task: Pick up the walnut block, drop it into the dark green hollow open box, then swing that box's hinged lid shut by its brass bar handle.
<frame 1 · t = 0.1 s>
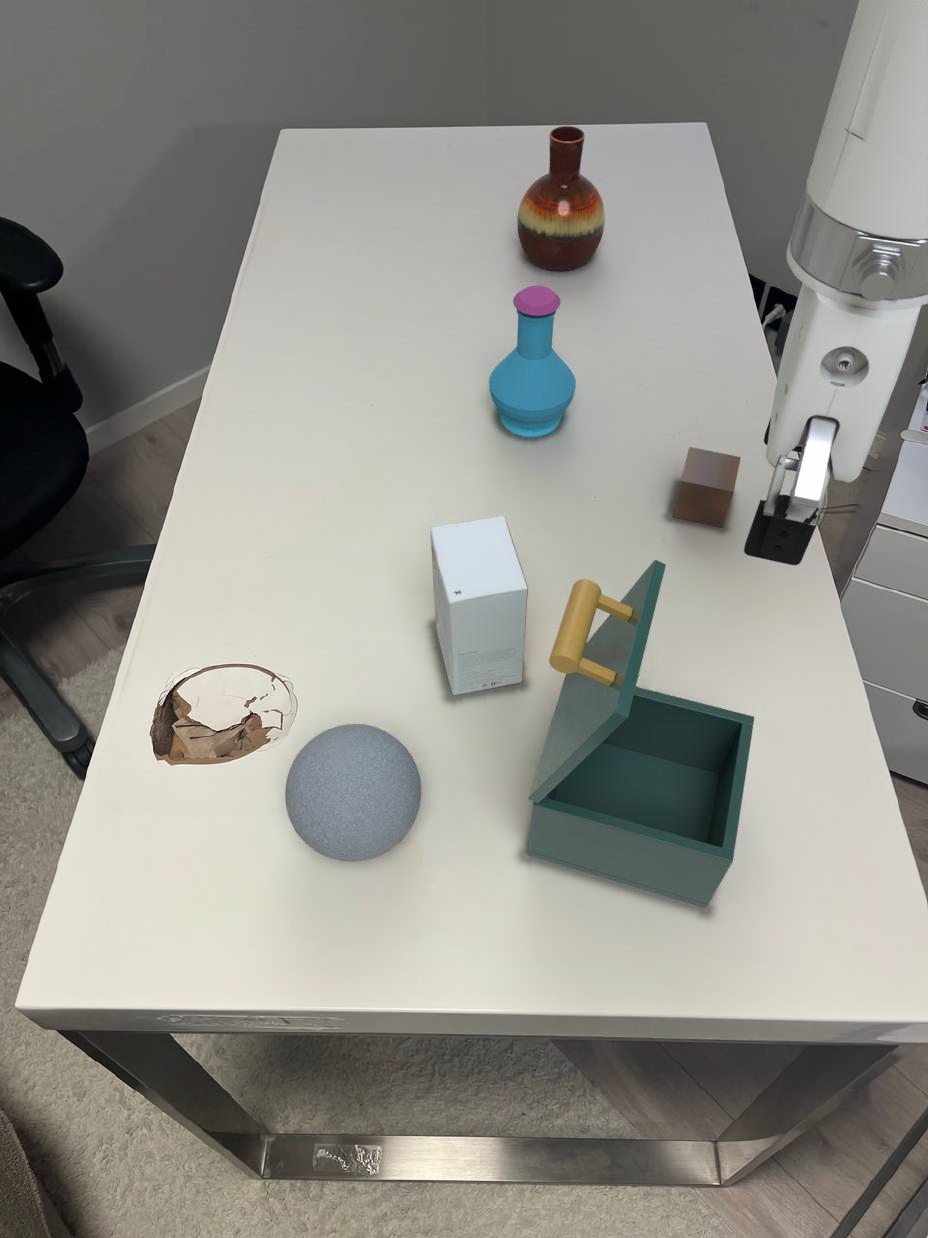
hand: (780, 499, 55), 26 cm above the table, tool pointing down, fingers open, 9 cm apart
block: (701, 505, 91), on the table
perfume bottle: (530, 417, 99), on the table
decorative stone: (361, 821, 71), on the table
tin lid: (566, 674, 59), point 17 cm above the table, hinge at 72.0°
green hollow open box: (630, 812, 71), on the table
vase: (558, 256, 118), on the table
small box: (478, 654, 80), on the table
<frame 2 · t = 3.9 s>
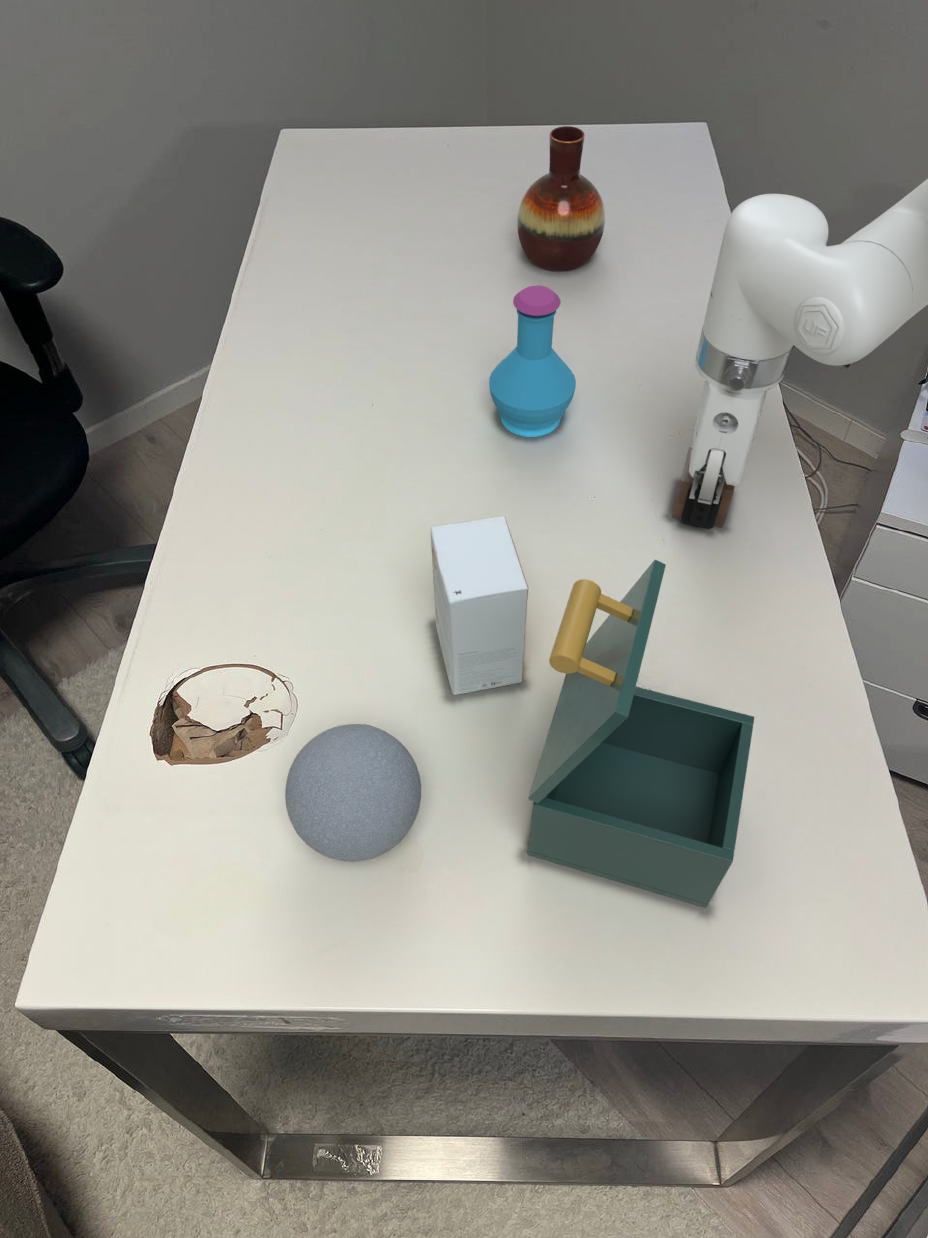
hand: (701, 502, 90), 0 cm above the table, tool pointing down, fingers closed on block, 5 cm apart
block: (701, 505, 91), on the table, touching gripper
everything else where it was.
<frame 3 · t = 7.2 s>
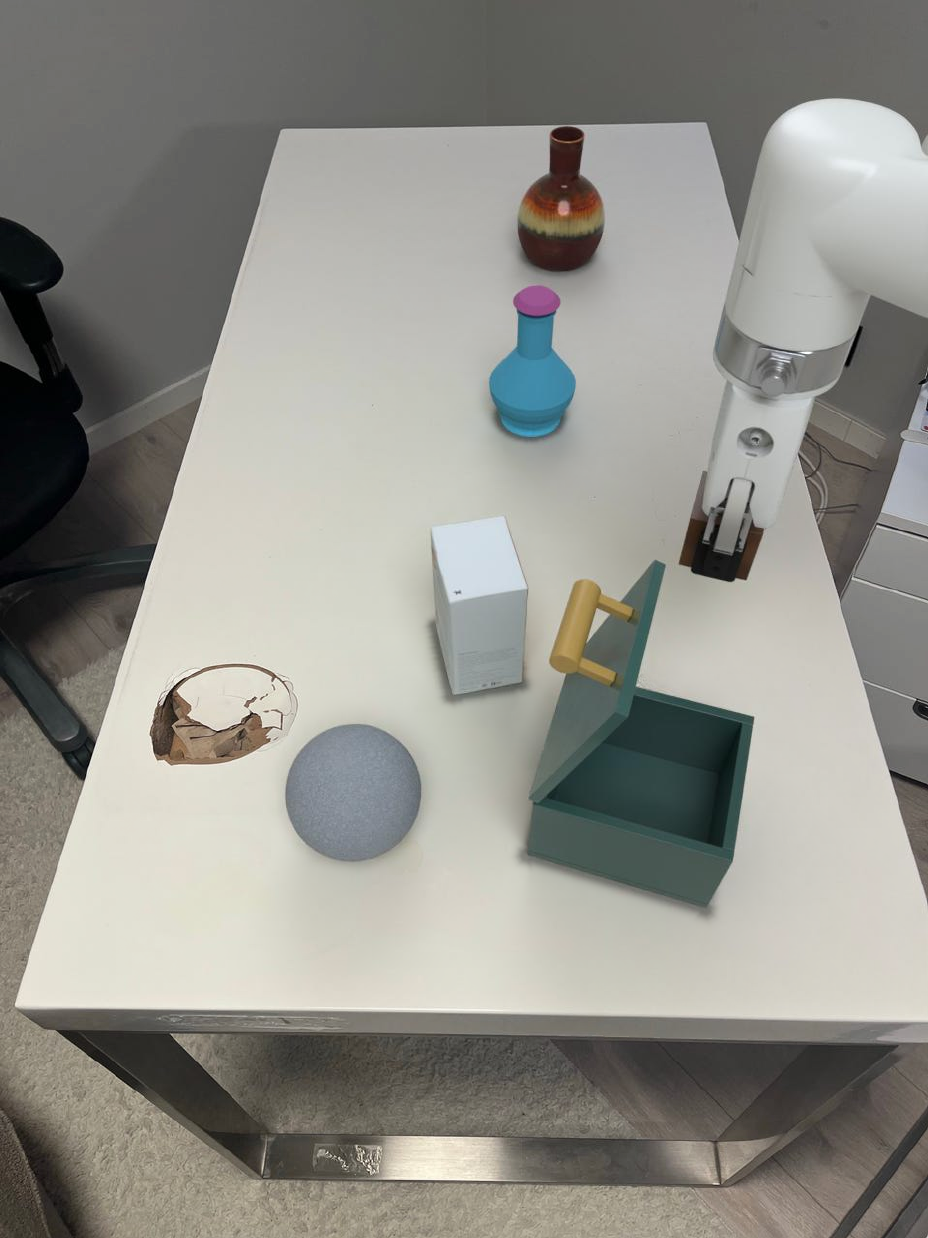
hand: (719, 545, 67), 15 cm above the table, tool pointing down, fingers closed on block, 5 cm apart
block: (717, 548, 67), point 15 cm above the table, touching gripper
everything else where it was.
when the fingers open (8 cm above the table, at t = 11.1 s): block stays where it is, resting on green hollow open box.
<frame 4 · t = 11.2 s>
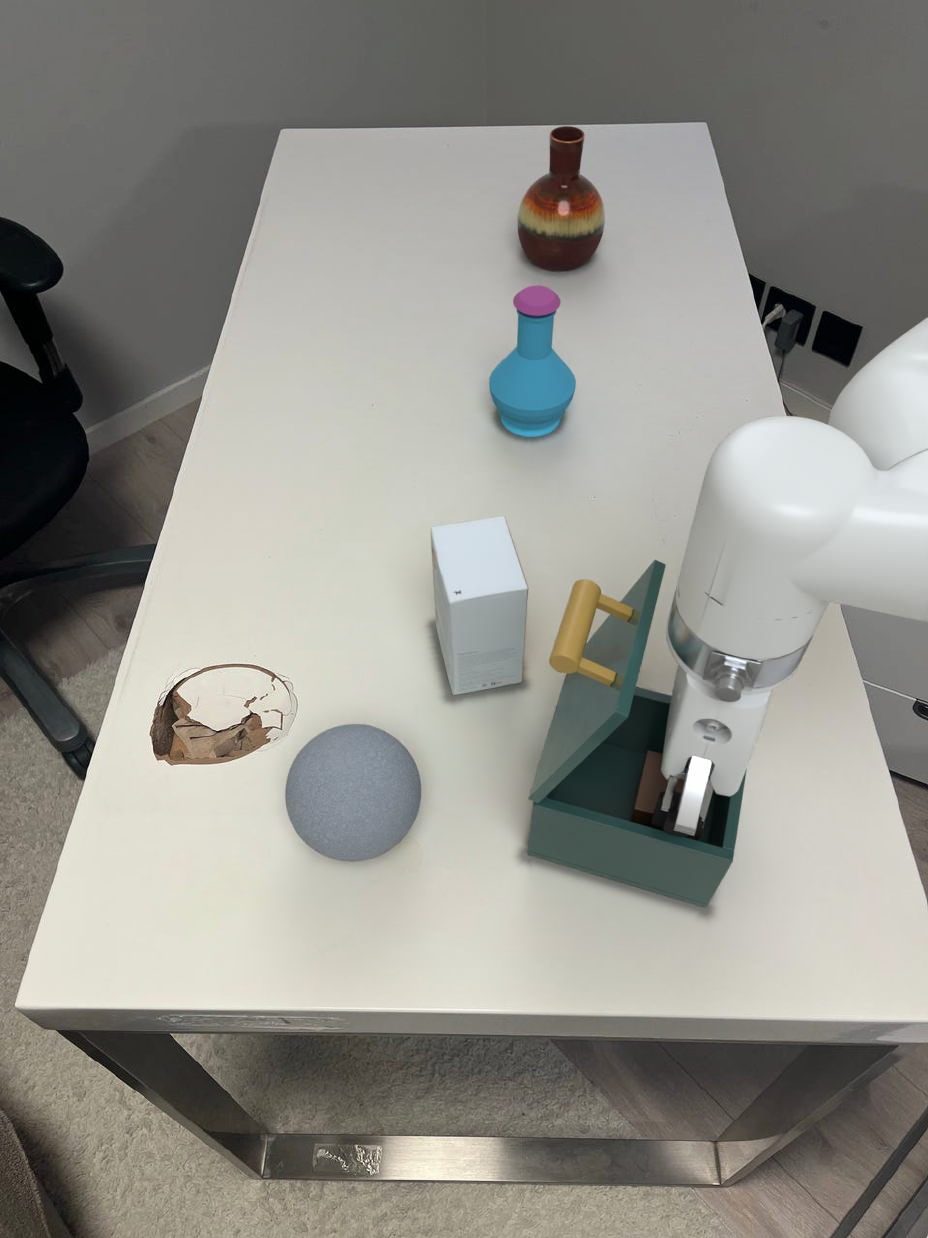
hand: (685, 771, 63), 9 cm above the table, tool pointing down, fingers open, 8 cm apart
block: (664, 817, 70), point 1 cm above the table, touching green hollow open box
everything else where it was.
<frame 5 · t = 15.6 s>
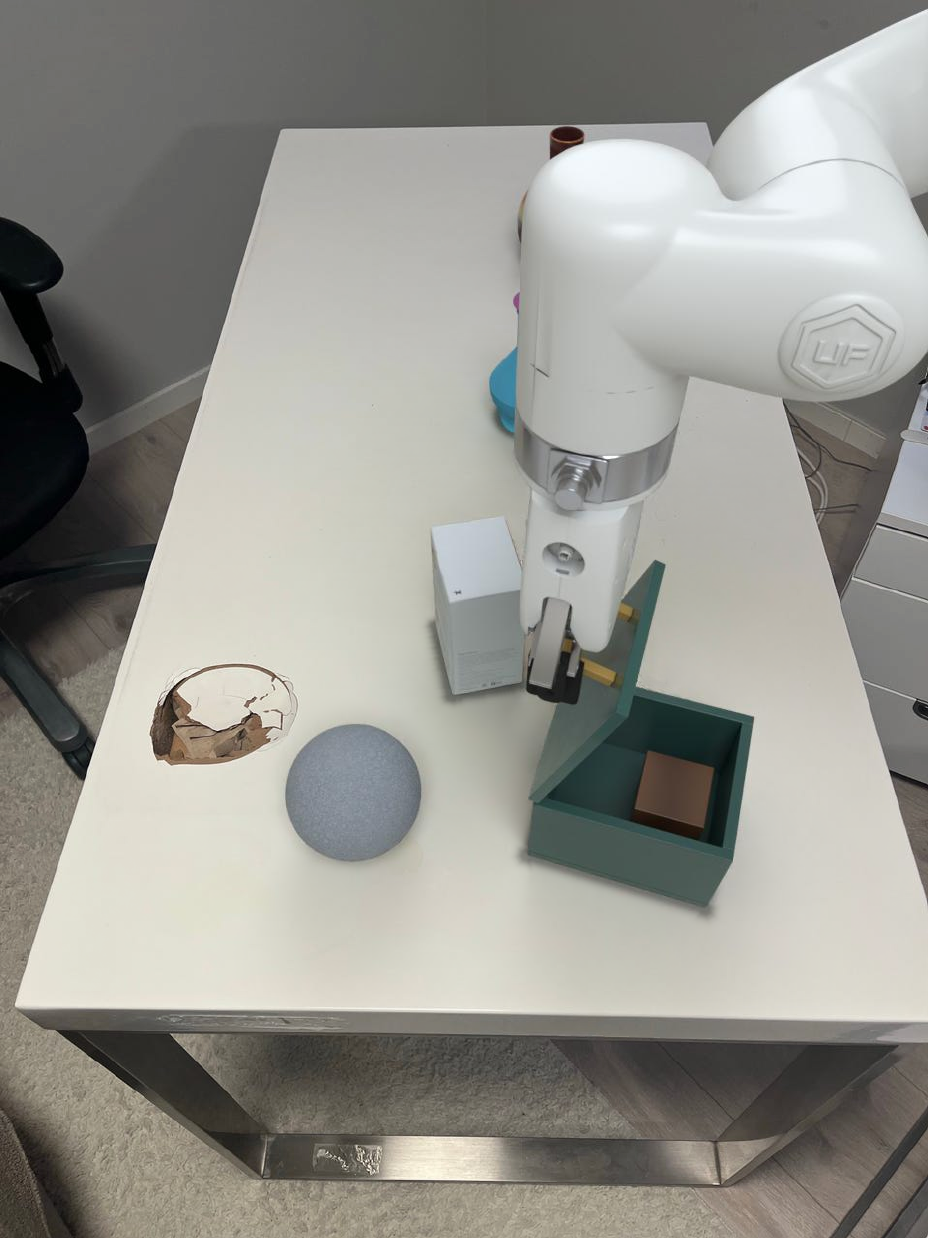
hand: (566, 650, 57), 19 cm above the table, tool pointing down, fingers closed on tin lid, 6 cm apart
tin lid: (566, 674, 59), point 17 cm above the table, hinge at 72.0°, touching gripper
everything else where it was.
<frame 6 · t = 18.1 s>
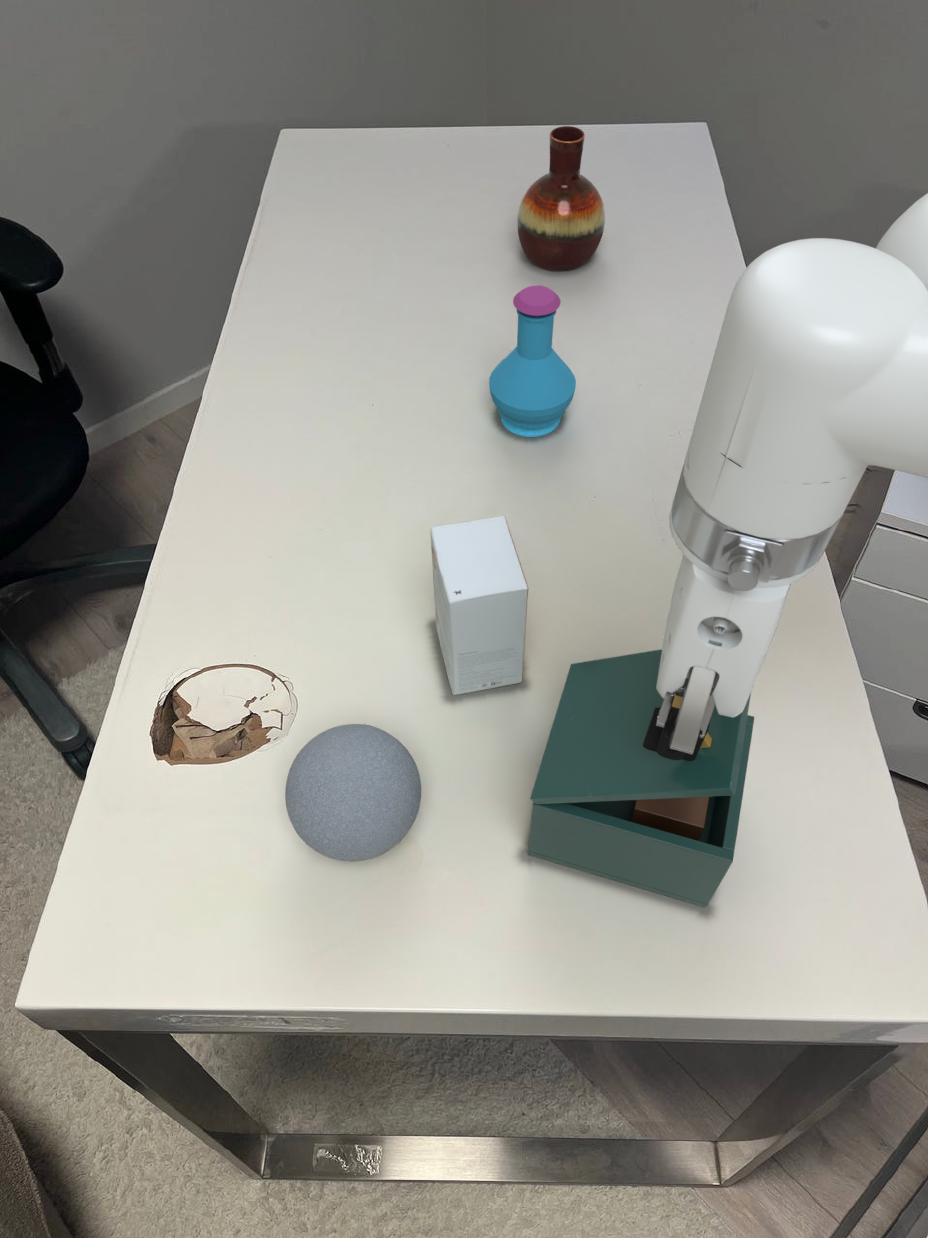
hand: (678, 704, 57), 17 cm above the table, tool pointing down, fingers closed on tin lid, 6 cm apart
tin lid: (628, 704, 59), point 15 cm above the table, hinge at 36.3°, touching gripper
everything else where it was.
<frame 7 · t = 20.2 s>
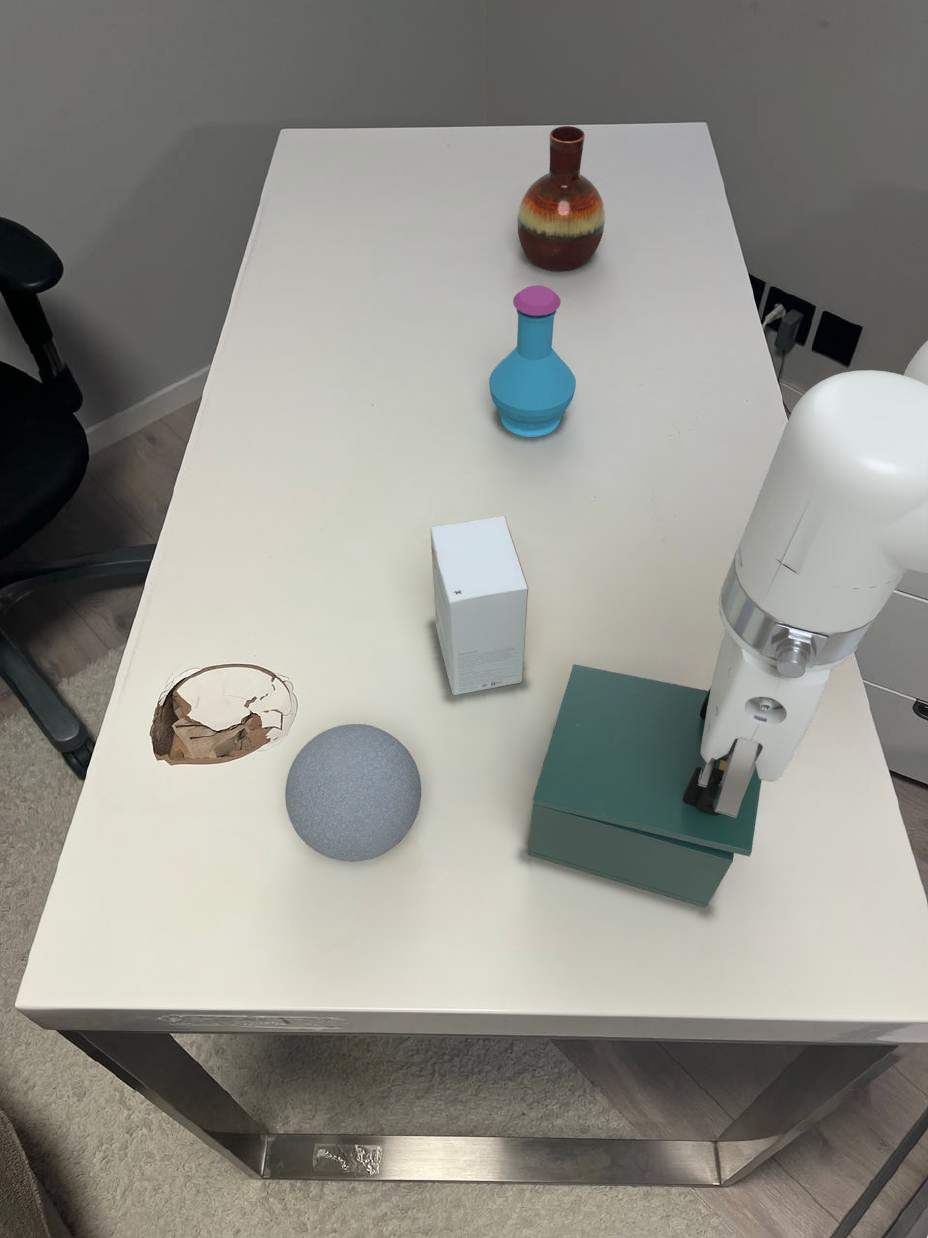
hand: (714, 760, 61), 11 cm above the table, tool pointing down, fingers closed on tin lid, 6 cm apart
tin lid: (656, 738, 61), point 12 cm above the table, hinge at 5.2°, touching gripper
everything else where it was.
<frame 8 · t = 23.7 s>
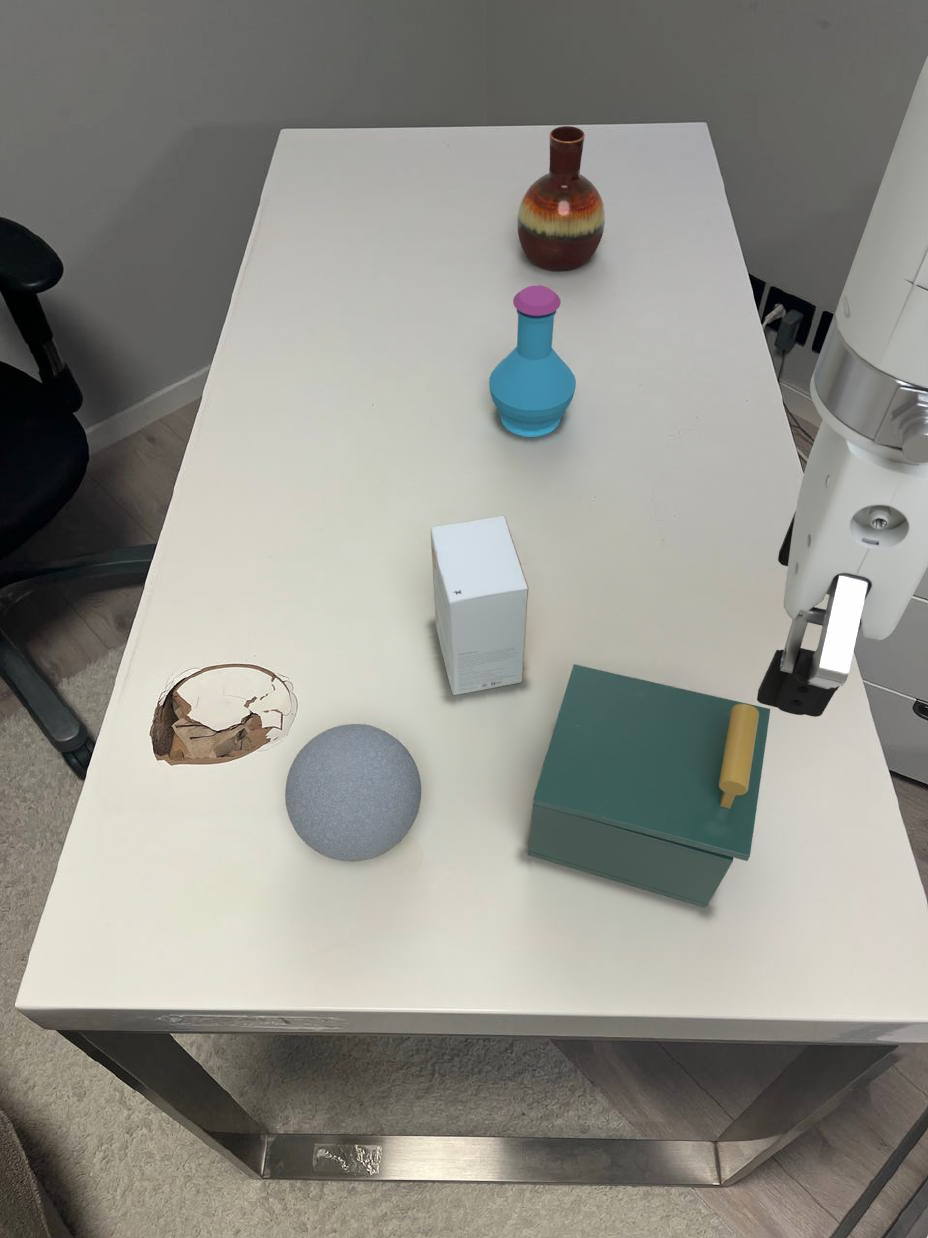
hand: (797, 631, 49), 26 cm above the table, tool pointing down, fingers open, 9 cm apart
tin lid: (657, 741, 61), point 12 cm above the table, hinge at 2.4°
everything else where it was.
at the end: block inside the target area in the green hollow open box (2.5 cm from its centre), point 0.8 cm above the green hollow open box's base; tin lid at +2° (first picture: +72°) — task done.
